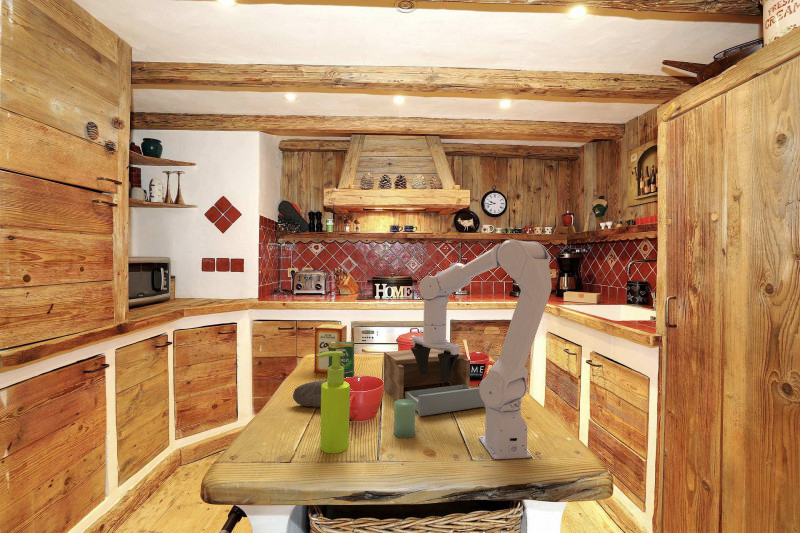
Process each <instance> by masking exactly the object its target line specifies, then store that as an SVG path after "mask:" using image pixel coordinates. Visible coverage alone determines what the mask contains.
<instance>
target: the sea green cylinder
mask: <svg viewBox="0 0 800 533" xmlns="http://www.w3.org/2000/svg"><path fill="white" fill-rule="evenodd" d="M393 406H394V407H393V408H394V409H393V435H394V436H395V437H397V438H399V439H410V438H413V437H414V436H415V435H416V410H415V402H414V401H413V400H409V399H405V398H403V399H399V400H395V401H394V404H393Z"/></svg>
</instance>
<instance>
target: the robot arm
mask: <svg viewBox="0 0 800 533" xmlns="http://www.w3.org/2000/svg"><path fill="white" fill-rule="evenodd" d="M551 259H552V257H551V254H549V252H548V251H547V249H546V247H545V246H544V245H543V244H542V243H540V242H538V241H532V240H531V241H523V240H518V239H514V238H513V239H507V240H505V241H503V242H502V243H498V244H496V245H494V246H493V247H492V248H491V249H489V250H488V251H486V252H484V253H482V254H481V255H479V256H477V257H476V258H474V259H472V260H471V261H469V262H467V263H466V264H464V263H460V262H452V263H449V267H447V268H446V269H444V270H442V271H441V270H439V271H436V274H435V275H434V276H432V275H425V276H424V277H423V278H421V280H420V282H419V286H418V290H419V293H420V295H421V297H422V298H423V334H422V335H423V336H411V344H412V345H413V346H412V347H410V350H411V351H412V352H413V354H414V356H415V359H416V362H417V365H418V369H419V374H420V375H424V374H427V370H428V358H429V353H430V350H431V348H432V349H436V350H440V351H444V353H440V354H438V358H439V362H440V367H441V381H442V382H446V383H447V381H449V378H450V375H451V371H452V368H453V366H454V364H455V362H456V360H457V358H458V357H459V352H460V345H457V344H454V343H452V342H449V341H448V339H447V313H448V312H447V308H448V307H447V306H448V304H449V297H451V294H452V293H454V292H456V291H458V290H461V289H463V288H465V287H467V286H469V285H470V284H471V282H472V278H474V277H476V276H479V275H481V274H484V273H486V272H488V271H491V270H494V269H495V268H498V267H499V268H502V269H503V270H504V272H506V273H507V274H508V275H509V276H510V277H511V278H512V279H513V280H514V281H515V282H516V284H517V286H518V287H519V290H520V292H519V296H518V298H517V302H516V306H515V308H514V311H513V314H512V316H511V320H510V323H509V326H508V329H507V333H506V336H505V338H504V341H503V344H502V348H501V351H500V353H499V356H498V359H497V360H496V361H495V362H494V364H492V365H491V367H490V368H489V369H488V372H487V374H486V376H485V377H484V378H483V379H482V380H481V381H480V383H479V386H478V388H479V393H480V396H481V398H482V400H483V402H484V403H485V406H484V407H485V422H484V424H485V425H484V426H485V428H484V429H485V430H484V435H478V440H479V441H480V442H481V443H482V445H483V446H484V449H486V451H487V452H488V453H489V455H490V456H491V458H492V459H494V460H504V459H505V460H507V459H527V458H531V457H532V454H531V453H530V452H529V451H528V425H527V423H526V421H525V419H524V417H523V416H522V409H521V408H522V407H521V406H522V398H524V397H525V396H526V394H527V391H528V376H529V371H528V369H527V368H526V364H527V360H528V358H529V354H530V352H531V350H532V347H533V343H534V341H535V338H536V335H537V333H538V330H539V327H540V324H541V320H542V317H543V315H544V312H545V310H546V307H547V304H548V301H549V299H550V296H551V292H552V285H553V284H552V278H551V270H550V262H551Z"/></svg>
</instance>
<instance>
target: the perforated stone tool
mask: <svg viewBox="0 0 800 533" xmlns="http://www.w3.org/2000/svg"><path fill="white" fill-rule="evenodd" d="M325 382H328V379H327V380H316V381H311V382H305V383H304V384H301V385H299V386H297V387H296V388H294V391H293V394H292V398H293V401H294V402H295V403H297V405H300V406H303V407H314V408H317V409H318V408H320V409H321V385H322V384H323V383H325Z"/></svg>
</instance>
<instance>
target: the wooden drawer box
mask: <svg viewBox="0 0 800 533" xmlns="http://www.w3.org/2000/svg"><path fill="white" fill-rule="evenodd" d="M440 353H444V351H440V350H436V349H432V348H431V350H430V353H429V358H428V370H427V374H424V375H420V374H419V369H418V365H417V362H416V359H415V356H414V354H413V352H412V351H411V349H406V350H405V349H404V350H395V351H383V378H382V379H383V381H384V389H383V390H384V391H385V392H387V394H389V395H390V396H391V397H392V398H393V399H394V400H395V401H396V400H399V399H404V388H410V387H419V386H420V387H421V386H429V385H435V384H436V385H437V384H445V382H442V381H441V367H440V362H439V358H438V354H440ZM470 380H471V377H470V360H468V359H466V353H464V352H462V351H459V357H458V358H457V360H456V362H455V364H454V366H453V368H452V371H451V375H450V378H449V381H447V382H446V383H447V384H448V383H449V384H448V385H449V386H456V385H464V384H465V385H467V386H469V387H470ZM383 381H382V382H383Z"/></svg>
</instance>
